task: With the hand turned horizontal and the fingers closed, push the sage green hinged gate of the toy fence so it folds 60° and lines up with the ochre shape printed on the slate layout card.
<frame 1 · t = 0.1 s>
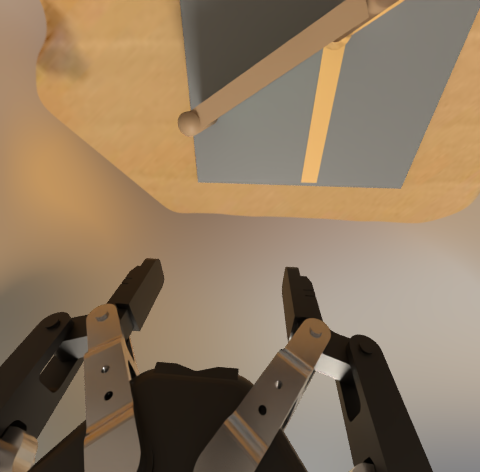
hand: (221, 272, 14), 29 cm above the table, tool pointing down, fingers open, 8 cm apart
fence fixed: (337, 30, 28), resting on layout card
fence gate: (259, 80, 26), point 7 cm above the table, hinge at 0.0°
layout card: (312, 82, 31), on the table
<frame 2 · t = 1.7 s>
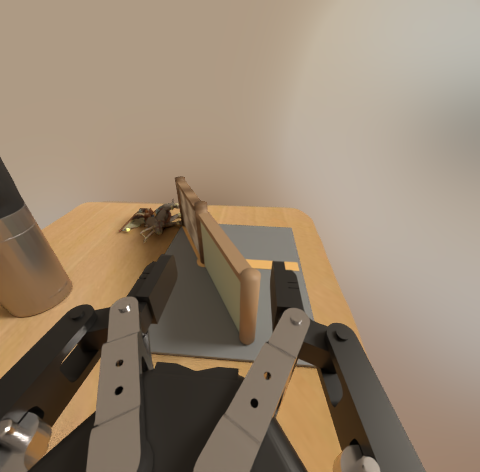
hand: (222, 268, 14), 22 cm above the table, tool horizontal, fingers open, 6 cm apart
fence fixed: (205, 261, 48), resting on layout card
fence gate: (224, 270, 35), point 7 cm above the table, hinge at 0.0°
figurine: (155, 228, 61), on the table, touching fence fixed, layout card
layout card: (229, 270, 46), on the table
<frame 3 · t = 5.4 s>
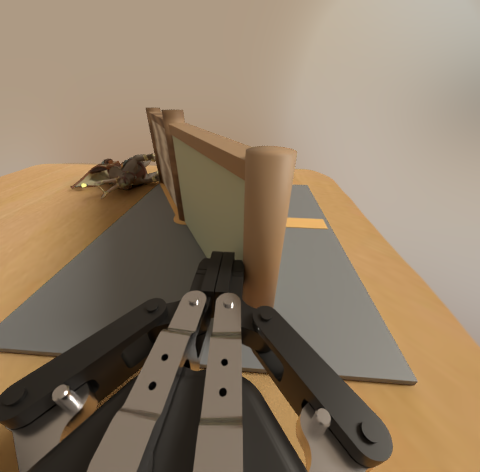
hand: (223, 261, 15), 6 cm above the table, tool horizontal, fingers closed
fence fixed: (187, 218, 32), resting on layout card
fence gate: (212, 206, 20), point 7 cm above the table, hinge at 1.4°, touching gripper
figurine: (124, 187, 46), on the table, touching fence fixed, layout card
layout card: (221, 229, 30), on the table
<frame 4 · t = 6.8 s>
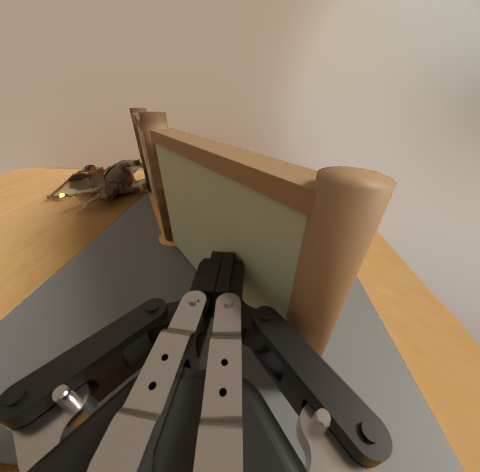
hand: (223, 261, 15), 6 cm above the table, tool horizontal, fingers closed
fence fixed: (174, 237, 28), resting on layout card
fence gate: (220, 230, 16), point 7 cm above the table, hinge at 10.9°, touching gripper
figurine: (109, 196, 41), on the table, touching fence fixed, layout card
layout card: (214, 251, 26), on the table
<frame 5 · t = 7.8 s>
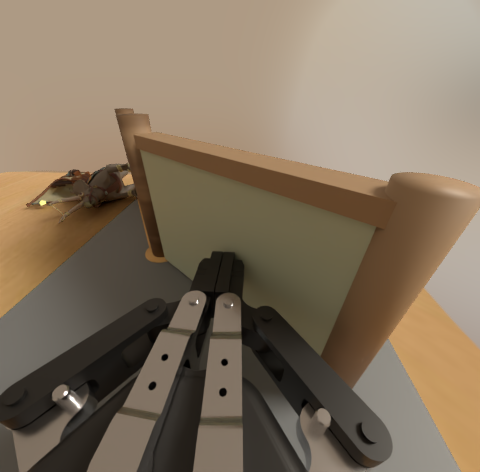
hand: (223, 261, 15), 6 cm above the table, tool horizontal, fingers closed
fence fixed: (163, 251, 25), resting on layout card
fence gate: (234, 243, 15), point 7 cm above the table, hinge at 21.2°, touching gripper
figurine: (95, 203, 39), on the table, touching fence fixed, layout card
layout card: (207, 268, 23), on the table
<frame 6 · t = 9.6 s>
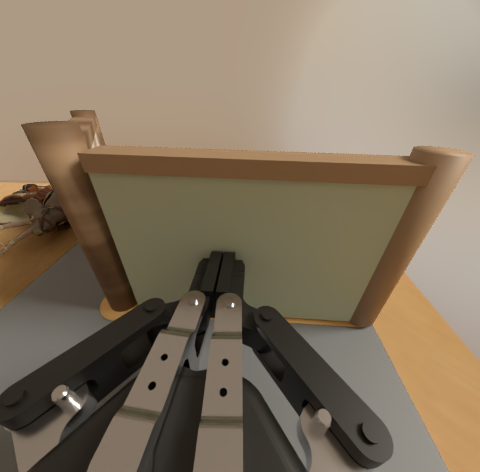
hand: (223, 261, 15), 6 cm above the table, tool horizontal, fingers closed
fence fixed: (126, 301, 19), resting on layout card
fence gate: (260, 246, 15), point 7 cm above the table, hinge at 58.8°, touching gripper
figurine: (58, 223, 32), on the table, touching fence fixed, layout card
layout card: (182, 328, 17), on the table
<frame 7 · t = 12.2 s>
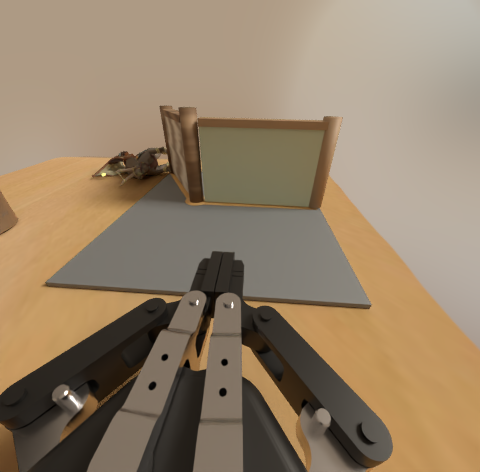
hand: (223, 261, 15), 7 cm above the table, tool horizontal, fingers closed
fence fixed: (196, 200, 37), resting on layout card
fence gate: (265, 163, 33), point 7 cm above the table, hinge at 59.1°
figurine: (138, 177, 51), on the table, touching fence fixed, layout card
layout card: (226, 209, 36), on the table
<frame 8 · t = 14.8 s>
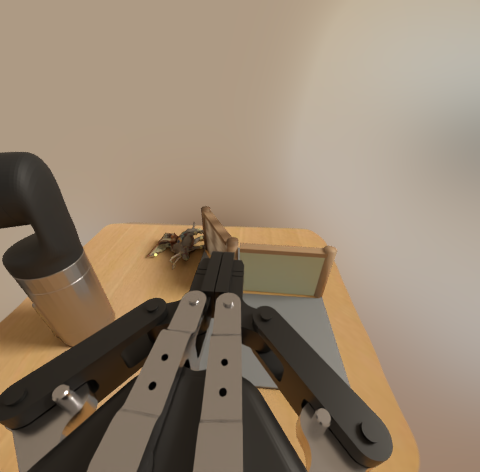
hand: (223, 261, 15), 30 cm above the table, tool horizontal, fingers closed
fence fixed: (232, 288, 52), resting on layout card
fence gate: (283, 270, 47), point 7 cm above the table, hinge at 59.1°
figurine: (179, 251, 65), on the table, touching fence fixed, layout card
layout card: (255, 297, 50), on the table
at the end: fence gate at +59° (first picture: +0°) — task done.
